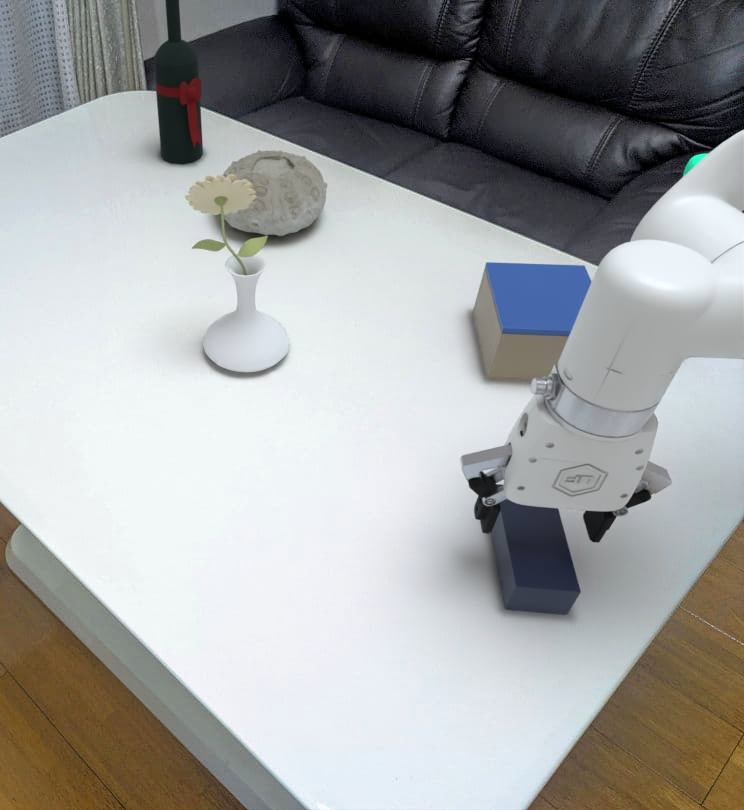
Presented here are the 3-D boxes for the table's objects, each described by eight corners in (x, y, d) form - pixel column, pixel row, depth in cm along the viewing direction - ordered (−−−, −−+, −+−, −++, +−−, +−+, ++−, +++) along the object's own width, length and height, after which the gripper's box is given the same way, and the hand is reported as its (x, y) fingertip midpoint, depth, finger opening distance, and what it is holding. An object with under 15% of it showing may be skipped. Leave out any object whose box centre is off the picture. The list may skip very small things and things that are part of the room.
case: (485, 509, 78) (495, 483, 75) (540, 513, 77) (552, 487, 74) (504, 611, 70) (516, 586, 66) (565, 616, 69) (581, 592, 66)
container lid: (582, 270, 94) (584, 265, 94) (611, 338, 85) (613, 332, 84) (484, 267, 96) (486, 261, 95) (501, 333, 86) (503, 327, 86)
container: (559, 318, 100) (577, 270, 94) (583, 386, 90) (605, 338, 85) (471, 314, 101) (484, 267, 96) (486, 382, 92) (501, 333, 86)
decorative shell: (292, 262, 112) (295, 203, 105) (194, 232, 119) (191, 174, 112) (342, 209, 122) (348, 152, 115) (250, 184, 130) (250, 129, 123)
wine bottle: (180, 175, 133) (168, -8, 112) (153, 154, 139) (137, -23, 118) (217, 163, 136) (212, -18, 114) (189, 143, 142) (179, -32, 121)
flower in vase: (298, 333, 100) (309, 160, 82) (275, 388, 92) (282, 210, 75) (208, 316, 103) (200, 146, 86) (179, 367, 96) (164, 193, 78)
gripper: (493, 421, 55) (446, 551, 67) (738, 437, 54) (645, 567, 66) (479, 356, 61) (438, 487, 73) (701, 369, 59) (621, 501, 71)
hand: (536, 525), depth 69 cm, fingers open, 9 cm apart
